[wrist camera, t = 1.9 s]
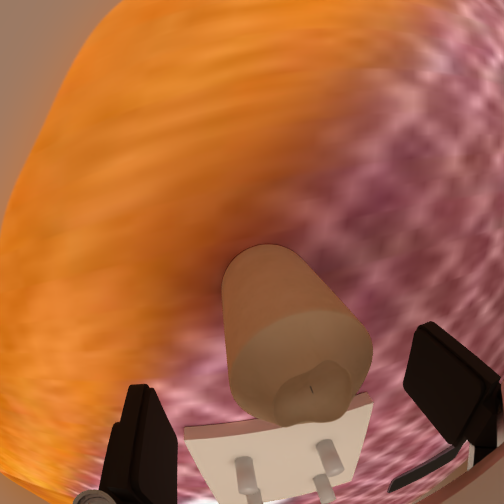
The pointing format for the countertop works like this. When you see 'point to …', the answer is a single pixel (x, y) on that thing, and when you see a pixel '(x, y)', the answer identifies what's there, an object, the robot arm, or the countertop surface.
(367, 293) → the countertop surface
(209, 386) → the countertop surface
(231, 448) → the plate
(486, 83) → the countertop surface
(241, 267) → the candle
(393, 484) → the smartphone
